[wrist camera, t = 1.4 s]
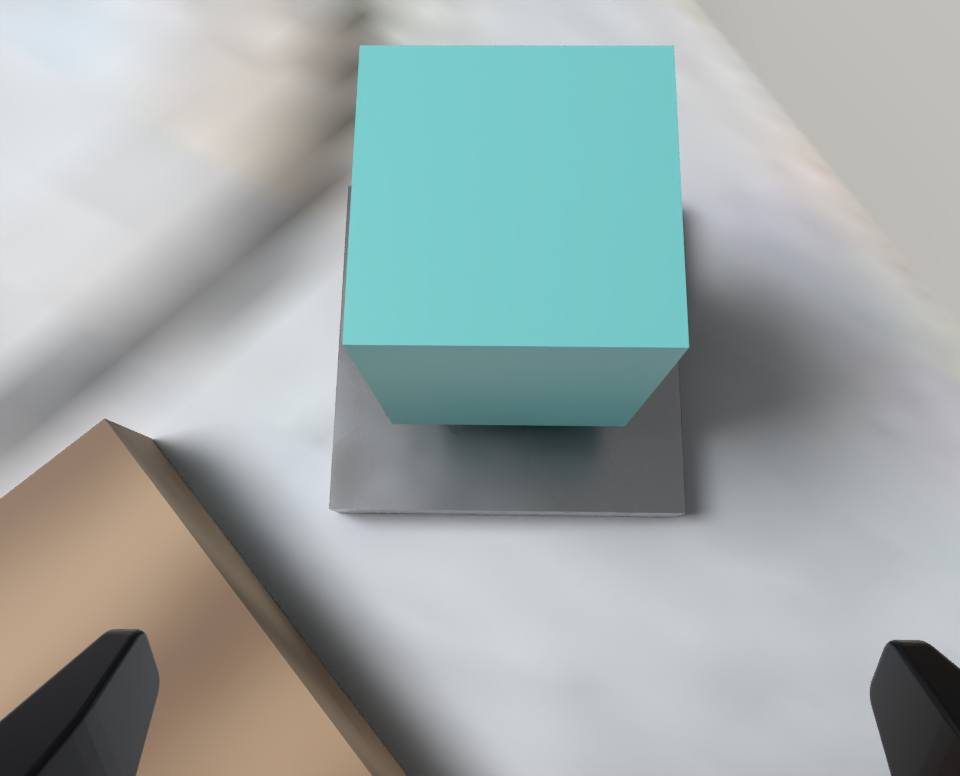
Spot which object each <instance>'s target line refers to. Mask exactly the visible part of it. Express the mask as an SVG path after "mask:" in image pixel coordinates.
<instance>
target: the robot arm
mask: <svg viewBox="0 0 960 776" xmlns="http://www.w3.org/2000/svg"><path fill="white" fill-rule="evenodd" d="M159 684H160V678H159V671H158V668H157V665H156V662H155V659H154V655H153V652H152V649H151V646H150V643H149V640H148V637H147V635H146V633H145V632H144V631H142V630H140V629H111V630H109V631H107V632H105V633H103V634H102V635H101V636H100V637H99V638H97V639H96V640H95V641H94V642H93V643H91V644H90V645H89V646H88V647H87V648H86V649H84V650H83V651H82V652H81V653H80V654H78V655H77V656H76V657H75V658H74V659H73V660H71V661H70V662H69V663H68V664H67V665H65V666H64V667H63V668H62V669H61V670H60V671H58V672H57V673H56V674H55V675H54V676H52V677H51V678H50V679H49V680H48V681H47V682H45V683H44V684H43V685H42V686H41V687H39V688H38V689H37V690H36V691H35V692H34V693H32V694H31V695H30V696H29V697H28V698H26V699H25V700H24V701H23V702H22V703H21V704H19V705H18V706H17V707H16V708H15V709H13V710H12V711H11V712H10V713H9V714H8V715H6V716H5V717H4V718H3V719H2V720H0V776H136V774H137V770H138V767H139V763H140V759H141V755H142V752H143V748H144V744H145V741H146V737H147V733H148V729H149V726H150V722H151V718H152V714H153V711H154V707H155V703H156V700H157V696H158V692H159ZM870 700H871V705H872V709H873V713H874V716H875V720H876V723H877V727H878V730H879V734H880V737H881V741H882V744H883V748H884V752H885V755H886V759H887V762H888V766H889V769H890V773H891V776H960V668H958V667H957V666H956V665H955V664H954V663H952V662H951V661H950V660H949V659H948V658H946V657H945V656H944V655H943V654H941V653H940V652H939V651H938V650H937V649H935V648H934V647H933V646H931V645H930V644H928V643H926V642H924V641H920V640H892V641H890V642H888V643H887V644H886V646H885V647H884V650H883V652H882V655H881V658H880V660H879V663H878V666H877V668H876V671H875V674H874V676H873V679H872V681H871V685H870Z"/></svg>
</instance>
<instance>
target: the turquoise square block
mask: <svg viewBox="0 0 960 776" xmlns="http://www.w3.org/2000/svg"><path fill="white" fill-rule="evenodd" d="M342 345H343V347H344V348H345V350H346V351H347V353H348V354H349V356H350V358H351V359H352V361H353V362H354V364H355V365H356V367H357V369H358V370H359V372H360V373H361V375H362V376H363V378H364V380H365V381H366V383H367V384H368V386H369V387H370V389H371V391H372V392H373V394H374V395H375V397H376V398H377V400H378V402H379V403H380V405H381V406H382V408H383V409H384V411H385V413H386V414H387V416H388V417H389V419H390V421H391V422H392V424H447V425H539V426H626V424H627V423H628V422H629V421H630V419H631V418H632V417H633V416H634V415H635V413H636V412H637V411H638V410H639V408H640V407H641V406H642V405H643V404H644V402H645V401H646V400H647V399H648V397H649V396H650V395H651V394H652V393H653V391H654V390H655V389H656V388H657V386H658V385H659V384H660V383H661V382H662V380H663V379H664V378H665V377H666V375H667V374H668V373H669V372H670V371H671V369H672V368H673V367H674V366H675V364H676V363H677V362H678V361H679V360H680V358H681V357H682V356H683V355H684V353H685V352H686V351H687V350H688V349H689V334H688V314H687V295H686V275H685V255H684V236H683V216H682V196H681V177H680V157H679V137H678V117H677V98H676V78H675V58H674V46H360V52H359V69H358V86H357V103H356V120H355V137H354V154H353V171H352V188H351V205H350V222H349V239H348V256H347V273H346V290H345V307H344V324H343V341H342Z"/></svg>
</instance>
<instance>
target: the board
mask: <svg viewBox="0 0 960 776" xmlns="http://www.w3.org/2000/svg"><path fill="white" fill-rule="evenodd" d="M111 629H140V630H142V631H144V632H145V633H146V635H147V637H148V640H149V643H150V646H151V649H152V652H153V655H154V659H155V662H156V665H157V668H158V671H159V678H160V684H159V692H158V696H157V700H156V703H155V707H154V711H153V714H152V718H151V722H150V726H149V729H148V733H147V737H146V741H145V744H144V748H143V752H142V755H141V759H140V763H139V767H138V770H137V774H136V776H407V774H406V773H405V772H404V770H403V769H402V768H401V766H400V765H399V764H398V762H397V761H396V760H395V758H394V757H393V756H392V755H391V753H390V752H389V751H388V749H387V748H386V747H385V745H384V744H383V743H382V741H381V740H380V739H379V737H378V736H377V735H376V733H375V732H374V731H373V730H372V728H371V727H370V726H369V724H368V723H367V722H366V720H365V719H364V718H363V716H362V715H361V714H360V712H359V711H358V710H357V708H356V707H355V706H354V705H353V703H352V702H351V701H350V699H349V698H348V697H347V695H346V694H345V693H344V691H343V690H342V689H341V687H340V686H339V685H338V683H337V682H336V681H335V679H334V678H333V677H332V676H331V674H330V673H329V672H328V670H327V669H326V668H325V666H324V665H323V664H322V662H321V661H320V660H319V658H318V657H317V656H316V654H315V653H314V652H313V651H312V649H311V648H310V647H309V645H308V644H307V643H306V641H305V640H304V639H303V637H302V636H301V635H300V633H299V632H298V631H297V629H296V628H295V627H294V626H293V624H292V623H291V622H290V620H289V619H288V618H287V616H286V615H285V614H284V612H283V611H282V610H281V608H280V607H279V606H278V604H277V603H276V602H275V601H274V599H273V598H272V597H271V595H270V594H269V593H268V591H267V590H266V589H265V587H264V586H263V585H262V583H261V582H260V581H259V579H258V578H257V577H256V576H255V574H254V573H253V572H252V570H251V569H250V568H249V566H248V565H247V564H246V562H245V561H244V560H243V558H242V557H241V556H240V554H239V553H238V552H237V550H236V549H235V548H234V547H233V545H232V544H231V543H230V541H229V540H228V539H227V537H226V536H225V535H224V533H223V532H222V531H221V529H220V528H219V527H218V525H217V524H216V523H215V522H214V520H213V519H212V518H211V516H210V515H209V514H208V512H207V511H206V510H205V508H204V507H203V506H202V504H201V503H200V502H199V500H198V499H197V498H196V497H195V495H194V494H193V493H192V491H191V490H190V489H189V487H188V486H187V485H186V483H185V482H184V481H183V479H182V478H181V477H180V475H179V474H178V473H177V472H176V470H175V469H174V468H173V466H172V465H171V464H170V462H169V461H168V460H167V458H166V457H165V456H164V454H163V453H162V452H161V450H160V449H159V448H158V446H157V445H156V444H155V443H154V441H153V440H152V439H151V438H149V437H147V436H144V435H142V434H139V433H137V432H135V431H132V430H130V429H128V428H125V427H123V426H121V425H118V424H116V423H114V422H111V421H109V420H107V419H103V420H102V421H101V422H100V423H98V424H97V425H96V426H94V427H93V428H92V429H90V430H89V431H88V432H87V433H85V434H84V435H83V436H81V437H80V438H79V439H77V440H76V441H75V442H74V443H72V444H71V445H70V446H68V447H67V448H66V449H65V450H63V451H62V452H61V453H59V454H58V455H57V456H55V457H54V458H53V459H52V460H50V461H49V462H48V463H46V464H45V465H44V466H42V467H41V468H40V469H39V470H37V471H36V472H35V473H33V474H32V475H31V476H30V477H28V478H27V479H26V480H24V481H23V482H22V483H20V484H19V485H18V486H17V487H15V488H14V489H13V490H11V491H10V492H9V493H7V494H6V495H5V496H4V497H2V498H1V499H0V720H2V719H3V718H4V717H5V716H6V715H8V714H9V713H10V712H11V711H12V710H13V709H15V708H16V707H17V706H18V705H19V704H21V703H22V702H23V701H24V700H25V699H26V698H28V697H29V696H30V695H31V694H32V693H34V692H35V691H36V690H37V689H38V688H39V687H41V686H42V685H43V684H44V683H45V682H47V681H48V680H49V679H50V678H51V677H52V676H54V675H55V674H56V673H57V672H58V671H60V670H61V669H62V668H63V667H64V666H65V665H67V664H68V663H69V662H70V661H71V660H73V659H74V658H75V657H76V656H77V655H78V654H80V653H81V652H82V651H83V650H84V649H86V648H87V647H88V646H89V645H90V644H91V643H93V642H94V641H95V640H96V639H97V638H99V637H100V636H101V635H102V634H103V633H105V632H107V631H109V630H111Z"/></svg>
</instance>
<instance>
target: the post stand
mask: <svg viewBox="0 0 960 776" xmlns="http://www.w3.org/2000/svg"><path fill="white" fill-rule="evenodd" d="M351 188H352V186H348V203H347V220H346V236H345V253H344V270H343V286H342V303H341V320H340V336H339V353H338V370H337V387H336V403H335V420H334V437H333V453H332V470H331V487H330V503H329V509H331V510H333V511H335V512H338V513H414V514H489V515H565V516H640V517H677V516H680V515H683V514H685V513H686V510H685V489H684V468H683V447H682V425H681V404H680V383H679V362H677V363H676V364H675V366H674V367H673V368H672V369H671V371H670V372H669V373H668V374H667V375H666V377H665V378H664V379H663V380H662V382H661V383H660V384H659V385H658V386H657V388H656V389H655V390H654V391H653V393H652V394H651V395H650V396H649V397H648V399H647V400H646V401H645V402H644V404H643V405H642V406H641V407H640V408H639V410H638V411H637V412H636V413H635V415H634V416H633V417H632V418H631V419H630V421H629V422H628V423H627V424H626V426H539V425H447V424H392V422H391V421H390V419H389V417H388V416H387V414H386V413H385V411H384V409H383V408H382V406H381V405H380V403H379V402H378V400H377V398H376V397H375V395H374V394H373V392H372V391H371V389H370V387H369V386H368V384H367V383H366V381H365V380H364V378H363V376H362V375H361V373H360V372H359V370H358V369H357V367H356V365H355V364H354V362H353V361H352V359H351V358H350V356H349V354H348V353H347V351H346V350H345V348H344V347H343V345H342V341H343V324H344V307H345V290H346V273H347V256H348V239H349V222H350V205H351Z"/></svg>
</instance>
